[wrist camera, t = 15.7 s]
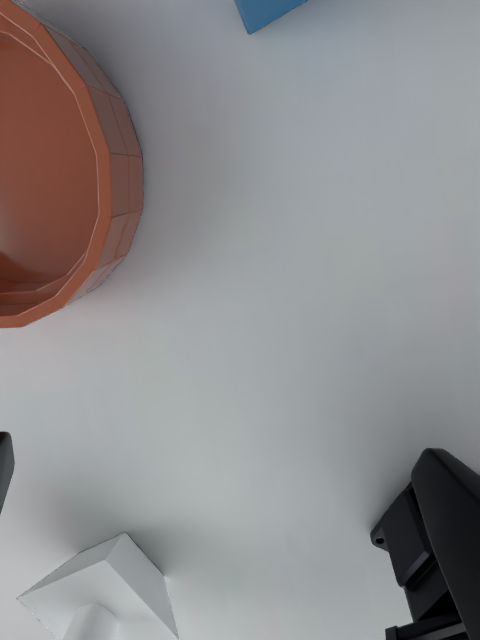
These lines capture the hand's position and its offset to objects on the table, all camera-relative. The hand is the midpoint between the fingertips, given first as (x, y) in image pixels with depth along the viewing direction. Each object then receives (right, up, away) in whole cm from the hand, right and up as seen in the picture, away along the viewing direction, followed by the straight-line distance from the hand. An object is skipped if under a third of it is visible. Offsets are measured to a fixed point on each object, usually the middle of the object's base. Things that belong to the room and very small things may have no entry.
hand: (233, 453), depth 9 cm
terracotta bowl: (-11, +10, +11) cm, 18 cm away
